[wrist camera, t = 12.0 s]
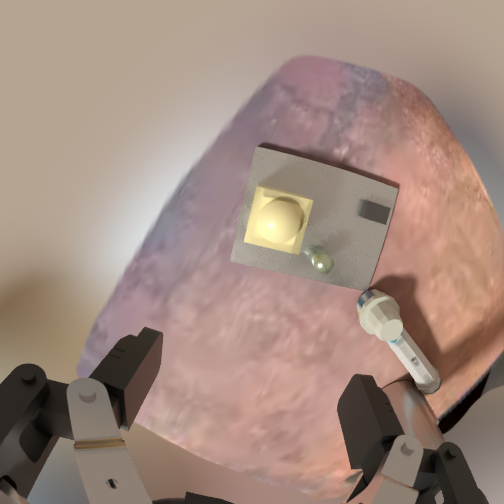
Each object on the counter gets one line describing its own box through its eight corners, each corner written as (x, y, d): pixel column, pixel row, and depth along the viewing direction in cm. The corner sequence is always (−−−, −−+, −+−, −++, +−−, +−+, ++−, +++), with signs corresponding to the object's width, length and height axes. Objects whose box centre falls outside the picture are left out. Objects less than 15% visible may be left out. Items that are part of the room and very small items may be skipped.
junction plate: (394, 188, 29) (420, 192, 23) (364, 288, 32) (381, 309, 27) (256, 147, 28) (254, 140, 23) (231, 258, 32) (224, 276, 26)
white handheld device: (425, 401, 34) (366, 338, 26) (409, 377, 40) (345, 305, 33) (448, 382, 33) (403, 306, 25) (431, 359, 39) (377, 278, 31)
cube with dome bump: (303, 195, 29) (314, 201, 22) (291, 239, 30) (299, 256, 24) (257, 184, 29) (256, 186, 22) (247, 229, 30) (243, 243, 24)
